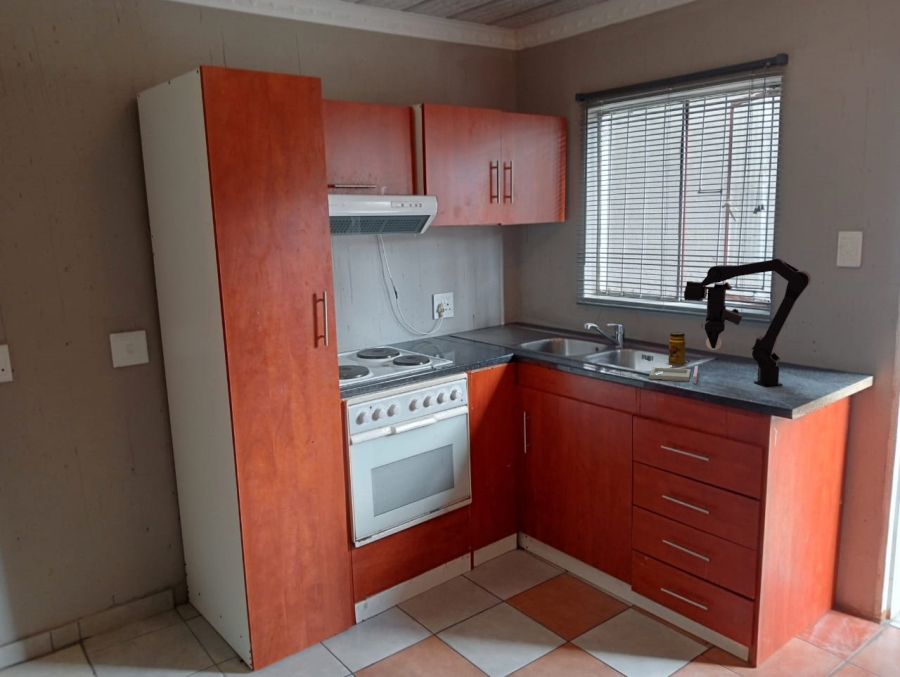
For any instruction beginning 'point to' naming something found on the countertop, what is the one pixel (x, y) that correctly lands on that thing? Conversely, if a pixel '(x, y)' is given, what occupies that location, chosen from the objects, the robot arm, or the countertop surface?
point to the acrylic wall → (695, 374)
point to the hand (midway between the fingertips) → (713, 347)
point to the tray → (671, 374)
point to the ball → (716, 344)
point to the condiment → (677, 349)
